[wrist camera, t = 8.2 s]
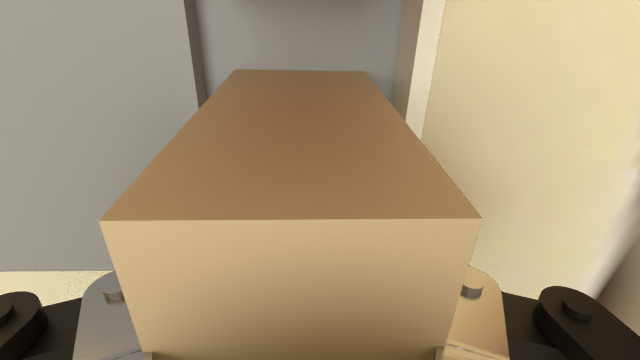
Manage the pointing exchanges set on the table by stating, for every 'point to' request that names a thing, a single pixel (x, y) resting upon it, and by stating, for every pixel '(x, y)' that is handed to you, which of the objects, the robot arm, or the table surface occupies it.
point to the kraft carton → (292, 228)
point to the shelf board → (161, 94)
